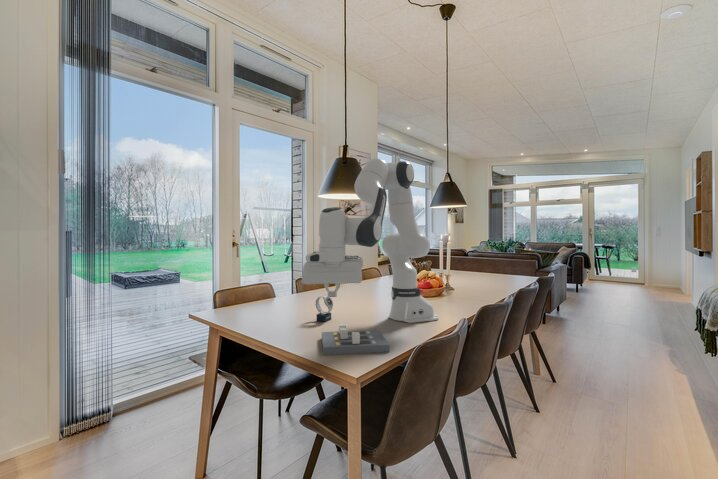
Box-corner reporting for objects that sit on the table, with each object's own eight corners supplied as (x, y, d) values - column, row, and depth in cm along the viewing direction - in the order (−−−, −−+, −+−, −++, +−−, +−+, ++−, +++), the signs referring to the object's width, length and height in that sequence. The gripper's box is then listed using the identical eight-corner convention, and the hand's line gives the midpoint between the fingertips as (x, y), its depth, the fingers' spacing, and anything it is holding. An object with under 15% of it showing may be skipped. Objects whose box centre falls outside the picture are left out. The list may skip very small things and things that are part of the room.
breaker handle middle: (346, 336, 128) (346, 327, 128) (347, 338, 125) (347, 329, 125) (340, 336, 128) (340, 328, 127) (340, 339, 125) (340, 330, 125)
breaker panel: (379, 336, 137) (379, 329, 137) (389, 351, 120) (389, 344, 120) (321, 338, 134) (321, 331, 134) (323, 355, 117) (323, 347, 117)
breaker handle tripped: (358, 341, 123) (358, 331, 123) (359, 343, 120) (359, 334, 120) (351, 341, 123) (351, 332, 123) (352, 343, 120) (352, 334, 120)
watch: (328, 323, 155) (328, 298, 155) (313, 320, 159) (313, 296, 158) (335, 320, 160) (335, 295, 160) (319, 317, 164) (319, 294, 163)
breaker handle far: (345, 332, 133) (345, 323, 133) (346, 334, 131) (346, 325, 131) (338, 332, 133) (338, 323, 133) (339, 334, 130) (339, 325, 130)
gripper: (361, 254, 124) (361, 294, 124) (301, 255, 121) (302, 295, 121) (364, 256, 118) (364, 297, 118) (301, 256, 115) (301, 299, 115)
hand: (332, 296), depth 120 cm, fingers closed
